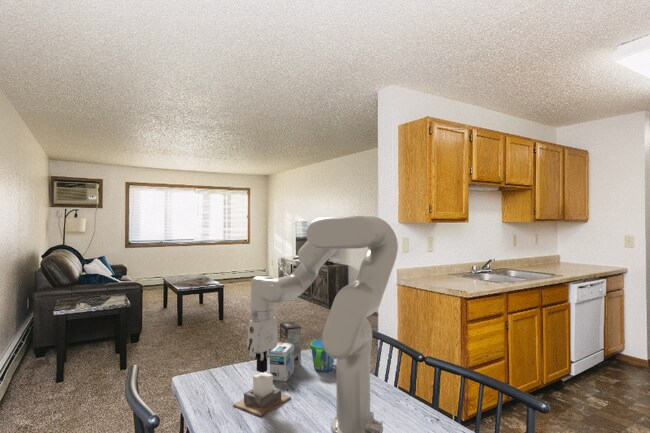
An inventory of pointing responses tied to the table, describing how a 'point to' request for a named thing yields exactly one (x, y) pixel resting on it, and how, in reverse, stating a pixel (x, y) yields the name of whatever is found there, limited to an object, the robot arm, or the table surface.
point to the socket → (261, 402)
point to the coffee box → (292, 338)
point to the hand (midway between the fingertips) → (261, 370)
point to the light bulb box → (282, 361)
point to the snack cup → (320, 357)
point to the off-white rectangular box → (262, 384)
